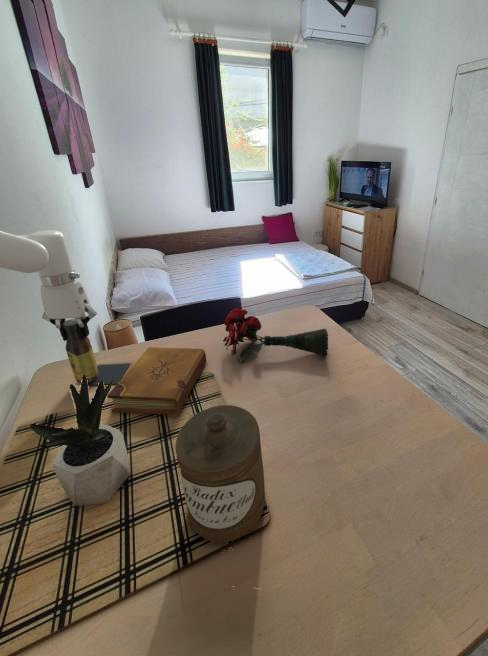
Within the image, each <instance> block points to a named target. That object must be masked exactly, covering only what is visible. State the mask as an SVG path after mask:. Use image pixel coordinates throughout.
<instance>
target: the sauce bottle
mask: <svg viewBox="0 0 488 656" xmlns="http://www.w3.org/2000/svg"><path fill="white" fill-rule="evenodd" d="M63 325H64V328H65V330H66V333H67V340H66V341H65V352H66V355H67V359H68V361H69V365H70V369H71V371H72V373H73V378H74V379H75V381H76V382H77V383H78V384H82V383H81V380H82V376H83V375H85V376H86V377H87V380H88V382H91V381H93V380H95V379H96V378H97V376H98V368H97V366H98V365H97V364H98V363H97V360H96V356H95V353H94V350H93V347H92V344H91V340H90V338H89V336H87V337H86V339H85V340H82V339H81V337H80V334H79V330H78V328H79V327H80V326H79V324H78V323H77V321H76V319H75V318H68V319H66V321H65V322H64V323H63Z"/></svg>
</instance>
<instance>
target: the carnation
mask: <svg viewBox="0 0 488 656" xmlns="http://www.w3.org/2000/svg"><path fill="white" fill-rule="evenodd" d="M247 314H248V310H247V309H240V308H238V307H237V308H234V309H233V310H231V311H229V313H228V314H227V316H226V318H225V319H224V323H223V325H224V326H225V332H226V333H228V334H227V335H226V336H225V337H224V338H223V340H222V343H224V347H226V349H225V350H226V351H228V350H229V349H228V348H229V347H230V346H232V349H231V350H230V353H231V355H232V356H235V355H237V354H238V351H237V346H240V343H245V341H250V342H251V343H250V344H249V345H248V346H247V347H245V348H244V349H243V350H241V353H240V355H239V361H240V363H242V362H243V361H244V360H245V359H246V358H247V357H248V355H250V352H251V349H252V347H254V348H253V350H252V353H253V354H257V353H259V352H260V350H261V349H262V347H263V346H265V347H267V346H268V347H270V346H273V347H274V346H275V347H279V346H280V347H281V346H282V347H289V348H291V349H295V350H300V351H304V352H309V353H312V354H317V355H320V356H325V357H326V356H328V350H329V333H328V330H327V328H322V329H316V330H311V331H305V332H301V333H299V332H298V333H296V334H290V335H285V336H279V335H278V336H276V335H275V336H271V335H264V337H263V336H260V335H258V334H257V333H258V331H260V330H262V323H261V321H260V319H259V318H258V317H256V316H255V315H250V316H247V317H245V316H246V315H247ZM258 341H259V342H260V343H257V344H255V342H258Z"/></svg>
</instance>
